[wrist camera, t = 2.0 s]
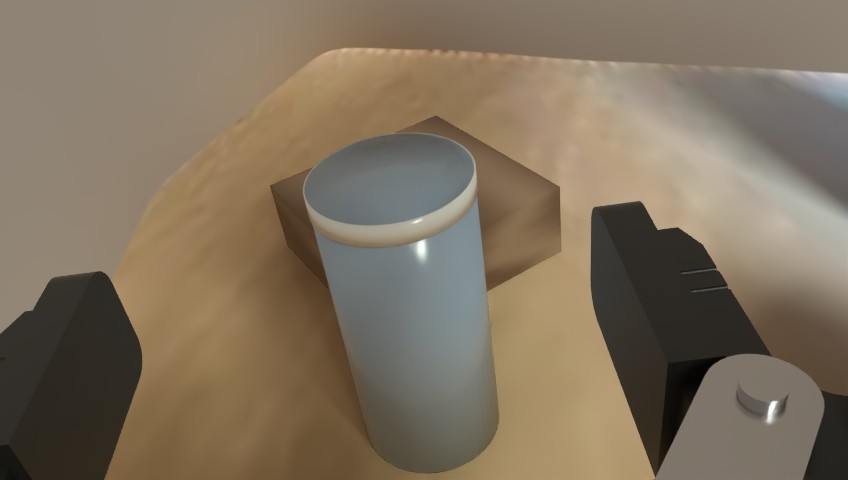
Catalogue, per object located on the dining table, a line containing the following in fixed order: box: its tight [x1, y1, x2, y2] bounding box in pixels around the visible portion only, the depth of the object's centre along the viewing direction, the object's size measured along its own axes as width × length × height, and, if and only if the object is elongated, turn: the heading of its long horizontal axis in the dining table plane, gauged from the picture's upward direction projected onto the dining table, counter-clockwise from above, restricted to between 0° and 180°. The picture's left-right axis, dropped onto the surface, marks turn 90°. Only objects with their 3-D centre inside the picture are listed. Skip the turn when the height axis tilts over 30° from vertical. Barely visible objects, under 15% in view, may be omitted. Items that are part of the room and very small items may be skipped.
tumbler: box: [303, 133, 499, 473], centre depth 28 cm, size 6×6×12 cm
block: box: [270, 116, 561, 291], centre depth 40 cm, size 11×11×4 cm
